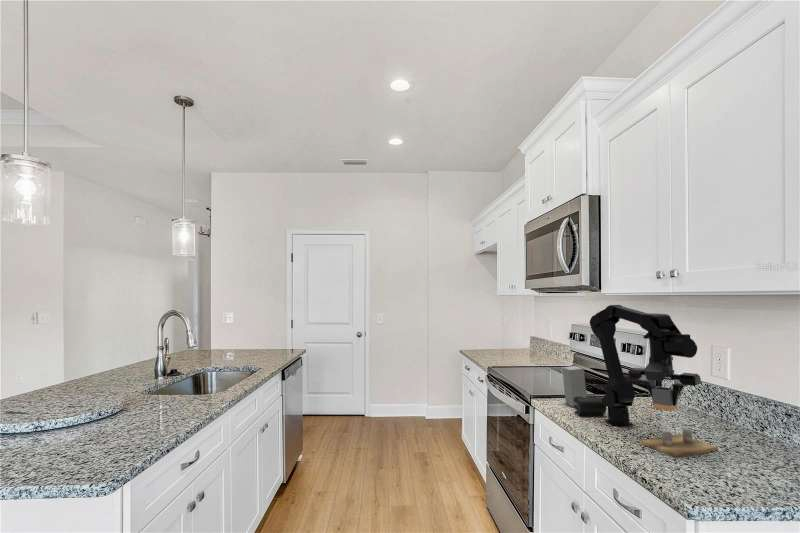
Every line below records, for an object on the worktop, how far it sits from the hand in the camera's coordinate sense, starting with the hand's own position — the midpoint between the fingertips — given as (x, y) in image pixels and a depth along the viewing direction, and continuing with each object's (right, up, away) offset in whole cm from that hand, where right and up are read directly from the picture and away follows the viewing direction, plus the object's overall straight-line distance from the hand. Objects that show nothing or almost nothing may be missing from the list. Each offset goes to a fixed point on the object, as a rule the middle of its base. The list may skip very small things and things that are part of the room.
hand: (665, 404), depth 128 cm
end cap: (-10, -15, +30) cm, 35 cm away
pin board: (+1, -12, -4) cm, 12 cm away
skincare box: (-9, -15, +43) cm, 47 cm away
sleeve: (0, -1, 0) cm, 1 cm away
